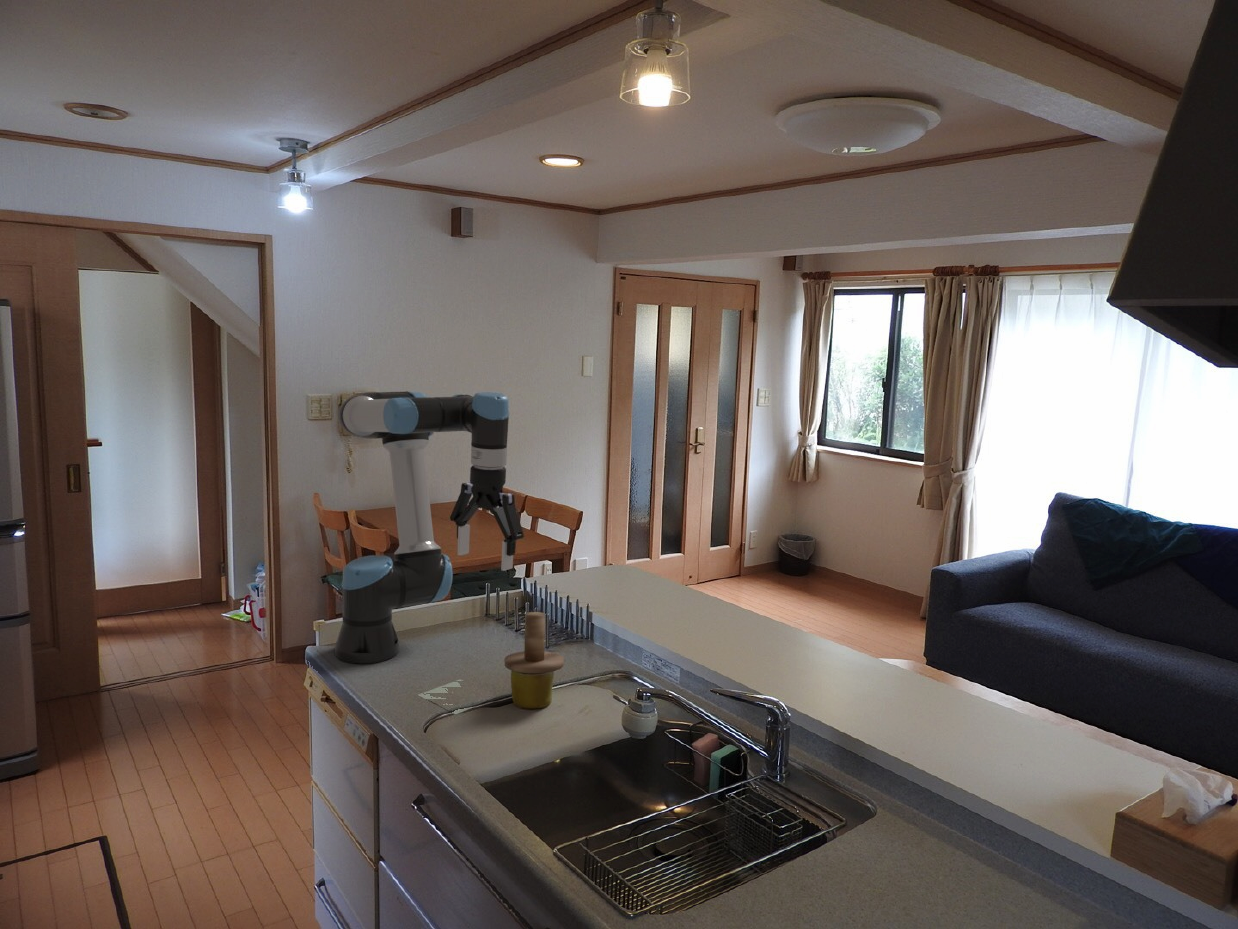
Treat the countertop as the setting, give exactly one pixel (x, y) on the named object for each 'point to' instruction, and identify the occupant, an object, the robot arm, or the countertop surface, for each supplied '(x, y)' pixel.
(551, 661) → the wooden peg stand
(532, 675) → the mug
